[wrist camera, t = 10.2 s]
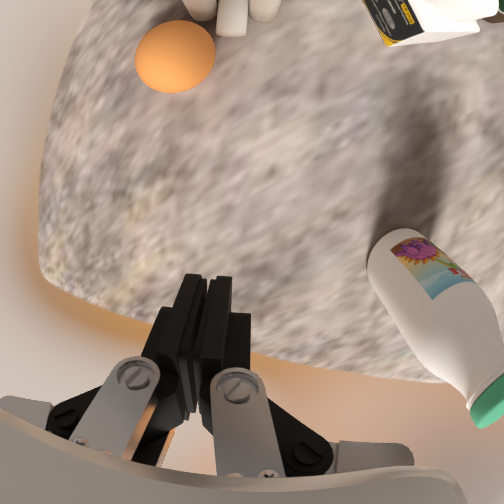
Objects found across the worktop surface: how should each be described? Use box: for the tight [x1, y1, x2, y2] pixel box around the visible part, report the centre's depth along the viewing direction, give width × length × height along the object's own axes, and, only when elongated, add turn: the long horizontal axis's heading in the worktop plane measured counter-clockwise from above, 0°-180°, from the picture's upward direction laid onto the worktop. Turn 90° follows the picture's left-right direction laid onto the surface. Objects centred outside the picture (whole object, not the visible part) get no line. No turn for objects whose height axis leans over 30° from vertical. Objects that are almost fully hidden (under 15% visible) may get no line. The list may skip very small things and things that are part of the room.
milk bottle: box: [367, 228, 504, 428], centre depth 18 cm, size 8×8×20 cm
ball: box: [135, 20, 216, 93], centre depth 16 cm, size 6×6×6 cm
